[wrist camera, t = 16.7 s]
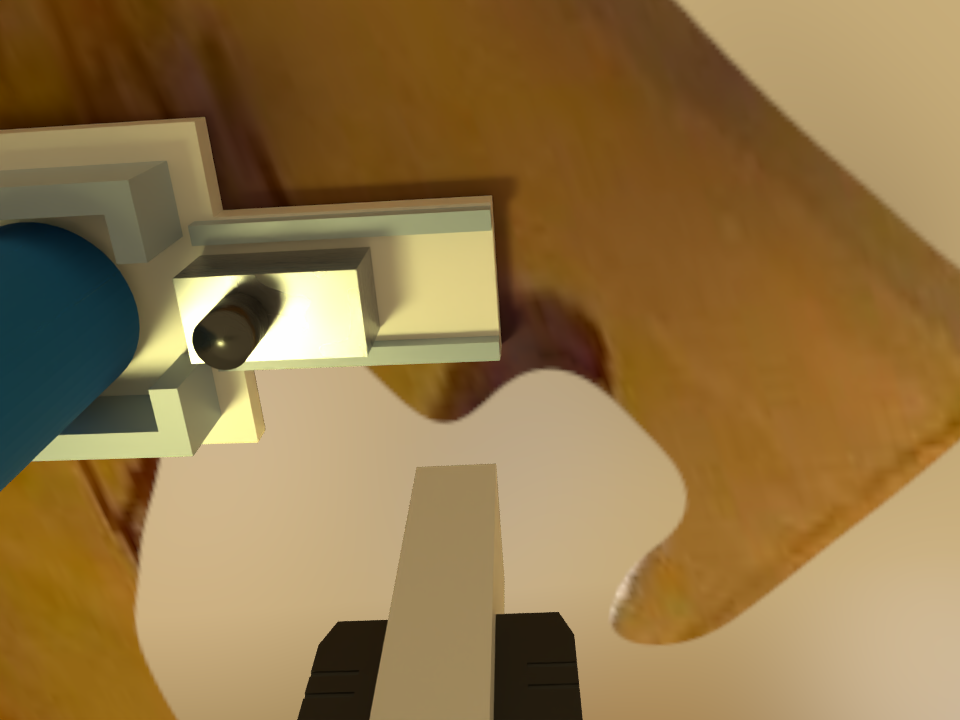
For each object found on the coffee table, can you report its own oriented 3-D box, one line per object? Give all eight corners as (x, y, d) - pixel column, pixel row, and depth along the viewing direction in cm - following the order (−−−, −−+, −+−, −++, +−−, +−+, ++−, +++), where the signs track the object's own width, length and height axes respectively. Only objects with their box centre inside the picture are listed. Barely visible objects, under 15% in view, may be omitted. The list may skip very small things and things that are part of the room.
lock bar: (216, 335, 31) (168, 389, 27) (200, 255, 30) (147, 300, 26) (380, 328, 31) (356, 382, 26) (370, 246, 29) (343, 290, 25)
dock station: (-24, 439, 35) (-89, 494, 31) (-130, 138, 30) (-222, 160, 26) (506, 421, 33) (503, 477, 29) (485, 98, 28) (478, 117, 25)
